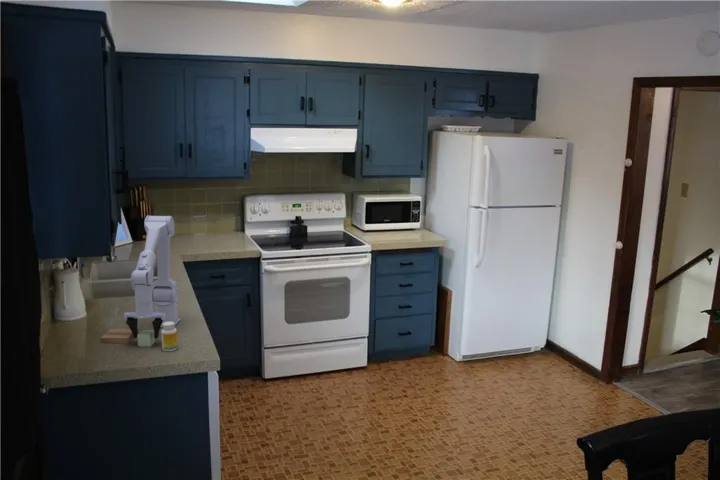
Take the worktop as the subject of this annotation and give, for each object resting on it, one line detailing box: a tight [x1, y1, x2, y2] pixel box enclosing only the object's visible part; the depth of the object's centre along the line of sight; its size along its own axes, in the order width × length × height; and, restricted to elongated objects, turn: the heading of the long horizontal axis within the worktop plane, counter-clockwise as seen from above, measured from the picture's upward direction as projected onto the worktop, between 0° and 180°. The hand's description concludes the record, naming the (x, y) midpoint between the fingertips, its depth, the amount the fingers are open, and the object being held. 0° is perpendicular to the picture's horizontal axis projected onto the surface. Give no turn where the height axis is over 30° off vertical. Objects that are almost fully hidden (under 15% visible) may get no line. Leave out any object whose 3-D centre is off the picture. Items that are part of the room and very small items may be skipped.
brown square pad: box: [100, 327, 135, 345], centre depth 233 cm, size 10×10×2 cm
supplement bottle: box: [160, 322, 179, 352], centre depth 222 cm, size 5×5×10 cm
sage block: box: [136, 329, 156, 347], centre depth 227 cm, size 4×4×4 cm
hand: (146, 337), depth 227 cm, fingers open, 7 cm apart
